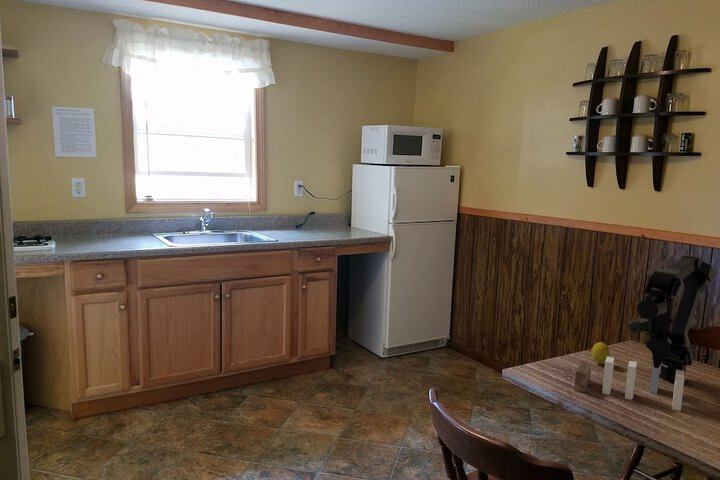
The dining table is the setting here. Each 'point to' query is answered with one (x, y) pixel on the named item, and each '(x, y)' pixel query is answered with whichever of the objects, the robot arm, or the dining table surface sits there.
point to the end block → (582, 376)
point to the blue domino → (654, 379)
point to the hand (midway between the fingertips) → (656, 362)
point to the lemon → (600, 352)
